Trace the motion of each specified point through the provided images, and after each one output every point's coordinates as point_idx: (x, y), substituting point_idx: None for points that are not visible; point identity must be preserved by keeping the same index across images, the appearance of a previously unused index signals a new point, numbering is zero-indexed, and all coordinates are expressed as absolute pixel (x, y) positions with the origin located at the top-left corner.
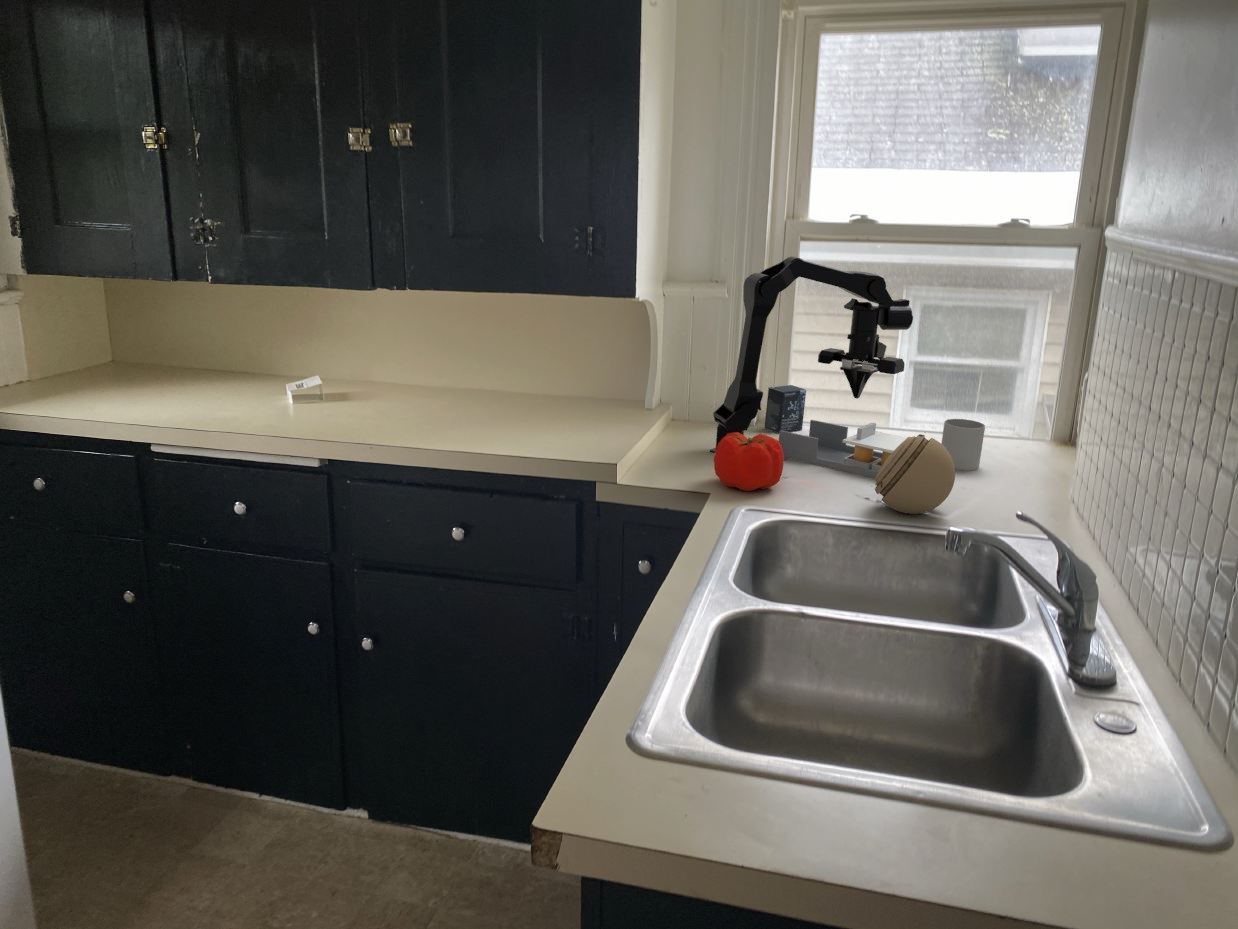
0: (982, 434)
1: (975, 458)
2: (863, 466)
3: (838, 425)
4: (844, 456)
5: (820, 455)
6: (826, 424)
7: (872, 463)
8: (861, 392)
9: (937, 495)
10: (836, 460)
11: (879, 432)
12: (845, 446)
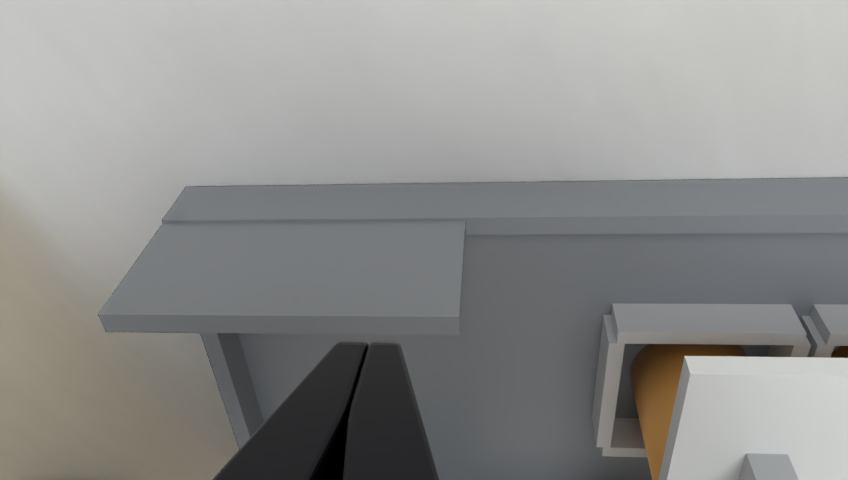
0: None
1: None
2: None
3: (367, 323)
4: (528, 307)
5: (412, 372)
6: (261, 326)
7: None
8: (419, 417)
9: None
10: (531, 393)
11: (813, 395)
12: (469, 229)
